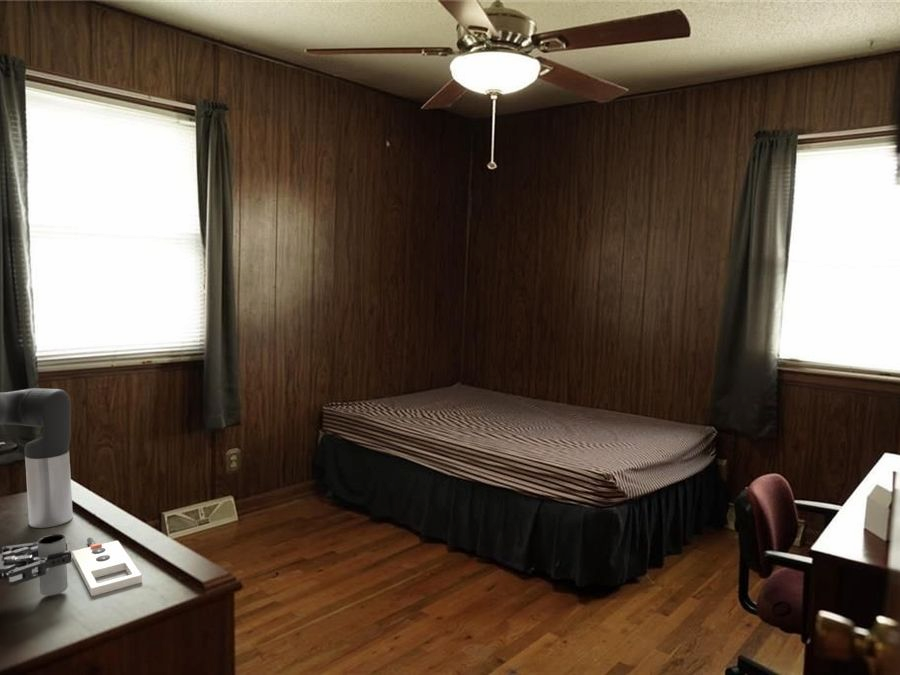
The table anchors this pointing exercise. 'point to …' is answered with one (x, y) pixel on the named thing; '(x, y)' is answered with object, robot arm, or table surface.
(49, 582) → the planter
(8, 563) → the robot arm
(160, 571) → the table surface
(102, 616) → the table surface
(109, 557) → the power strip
